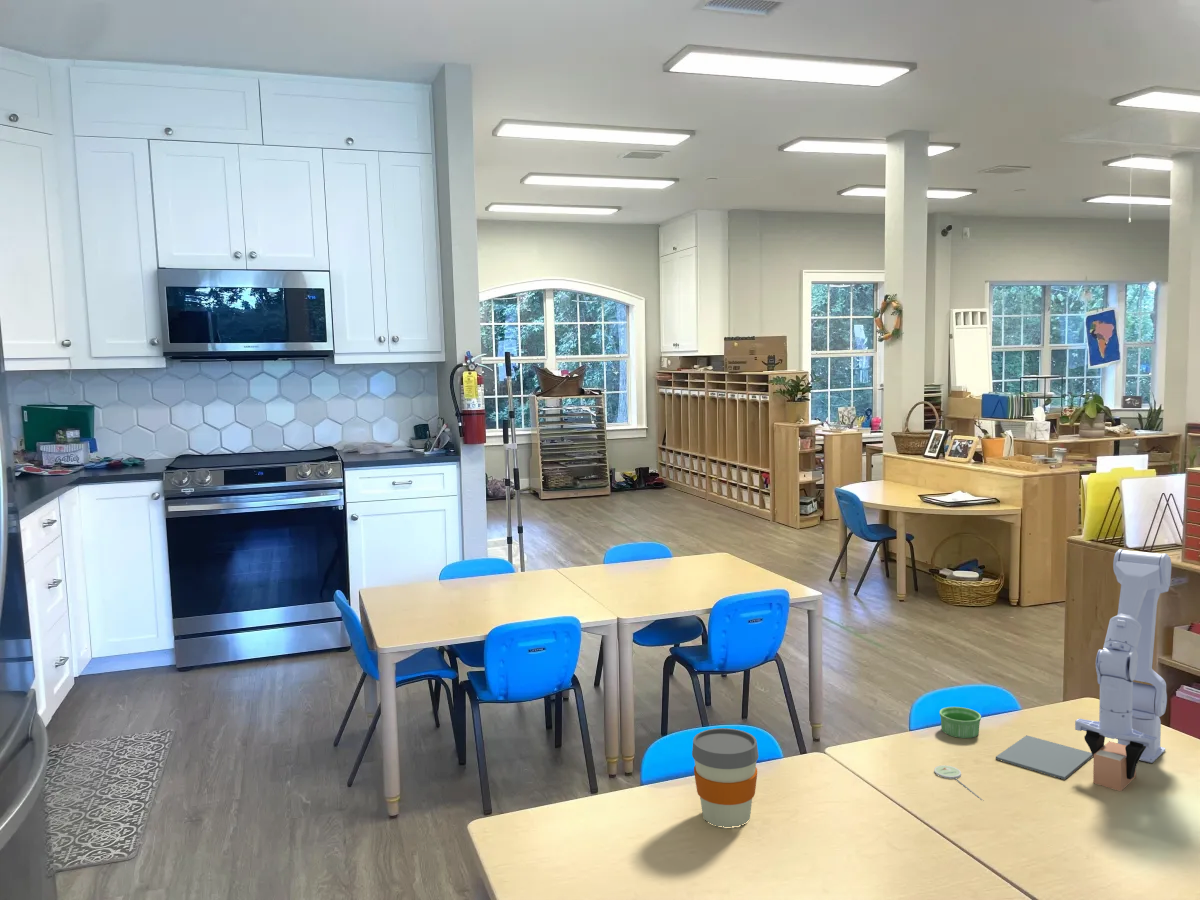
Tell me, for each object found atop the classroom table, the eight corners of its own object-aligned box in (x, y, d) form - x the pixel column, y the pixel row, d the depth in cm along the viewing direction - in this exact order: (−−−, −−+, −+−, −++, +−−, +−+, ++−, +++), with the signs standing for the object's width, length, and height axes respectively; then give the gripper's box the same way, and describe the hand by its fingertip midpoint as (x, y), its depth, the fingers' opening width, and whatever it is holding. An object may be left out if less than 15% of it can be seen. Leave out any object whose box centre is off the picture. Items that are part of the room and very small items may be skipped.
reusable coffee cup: (758, 836, 159) (757, 756, 158) (690, 830, 161) (688, 752, 160) (760, 803, 171) (759, 729, 170) (696, 799, 173) (694, 726, 172)
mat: (1026, 737, 198) (1026, 735, 198) (1093, 756, 188) (1093, 753, 187) (995, 759, 187) (995, 756, 187) (1064, 779, 177) (1064, 777, 177)
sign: (970, 800, 169) (929, 766, 184) (970, 805, 169) (929, 770, 184) (995, 797, 170) (952, 764, 184) (995, 802, 170) (952, 768, 184)
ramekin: (944, 739, 199) (944, 720, 199) (935, 723, 208) (935, 705, 207) (985, 740, 197) (985, 721, 197) (975, 725, 206) (975, 707, 206)
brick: (1109, 769, 181) (1109, 740, 181) (1135, 776, 177) (1136, 747, 177) (1093, 783, 175) (1093, 753, 175) (1120, 791, 171) (1121, 761, 171)
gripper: (1069, 704, 178) (1069, 768, 179) (1150, 723, 167) (1149, 791, 168) (1082, 695, 183) (1081, 757, 184) (1161, 713, 172) (1160, 779, 173)
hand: (1114, 773), depth 176 cm, fingers closed on brick, 5 cm apart
